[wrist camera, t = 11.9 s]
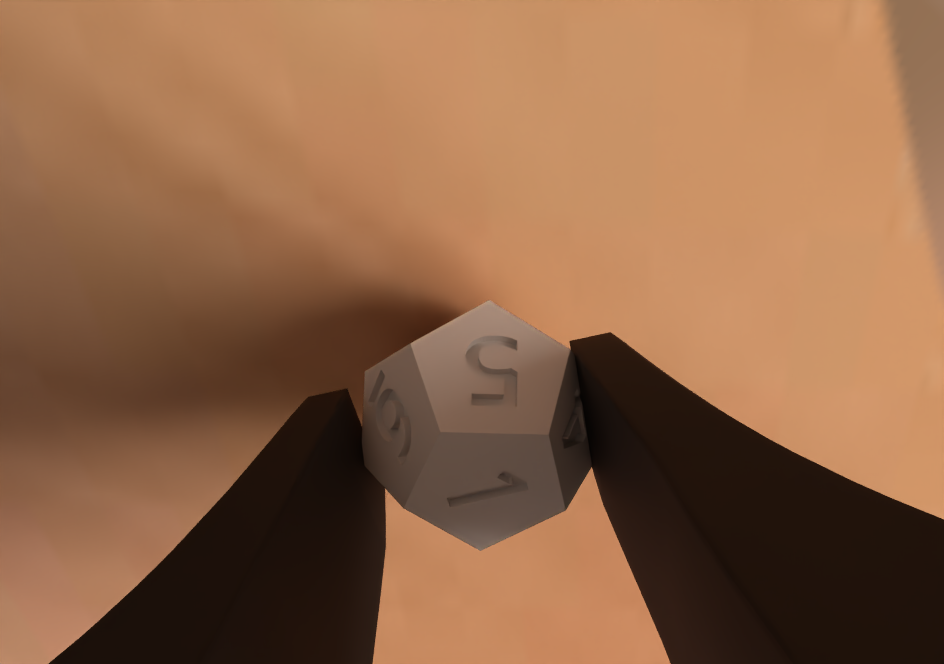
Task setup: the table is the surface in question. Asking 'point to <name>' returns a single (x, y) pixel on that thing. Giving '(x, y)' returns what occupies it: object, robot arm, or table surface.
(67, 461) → the table surface
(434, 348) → the game die
